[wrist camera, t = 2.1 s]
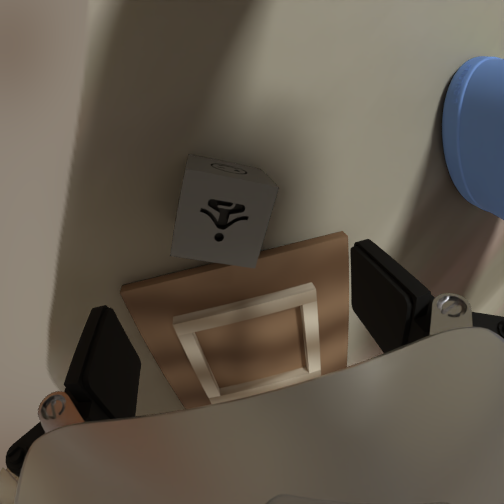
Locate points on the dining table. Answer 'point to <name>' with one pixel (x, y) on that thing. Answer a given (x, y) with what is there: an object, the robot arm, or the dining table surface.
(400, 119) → the dining table surface
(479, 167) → the water jug
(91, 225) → the dining table surface
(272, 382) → the pocket board
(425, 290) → the robot arm
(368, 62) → the dining table surface
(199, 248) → the dice cube
